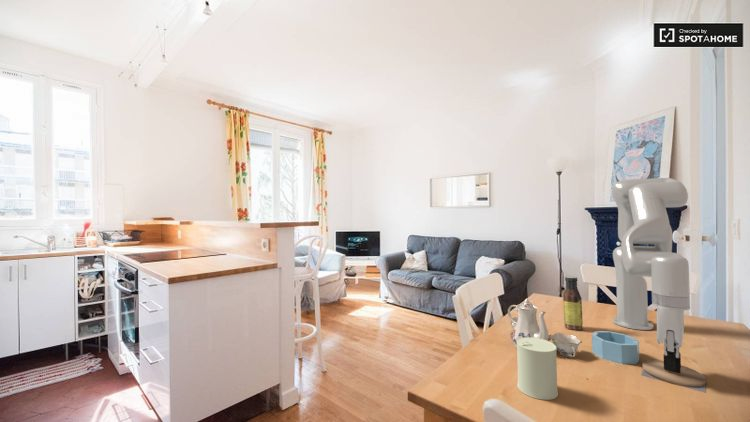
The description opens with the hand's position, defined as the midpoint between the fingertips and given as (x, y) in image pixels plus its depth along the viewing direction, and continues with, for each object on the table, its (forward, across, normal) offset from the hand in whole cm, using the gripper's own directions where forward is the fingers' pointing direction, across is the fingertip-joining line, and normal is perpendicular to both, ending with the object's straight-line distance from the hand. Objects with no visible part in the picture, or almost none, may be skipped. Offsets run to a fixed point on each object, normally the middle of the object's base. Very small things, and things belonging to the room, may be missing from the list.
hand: (672, 368), depth 84 cm
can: (+3, +32, -24) cm, 40 cm away
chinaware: (+3, +4, -34) cm, 34 cm away
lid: (+2, 0, 0) cm, 2 cm away
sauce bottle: (+3, -24, -29) cm, 38 cm away
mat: (+2, 0, 0) cm, 2 cm away
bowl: (+2, -4, -13) cm, 14 cm away
